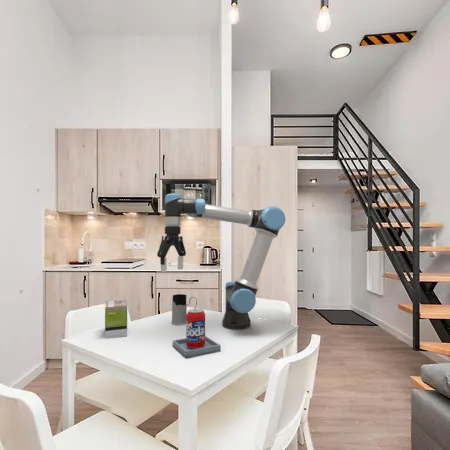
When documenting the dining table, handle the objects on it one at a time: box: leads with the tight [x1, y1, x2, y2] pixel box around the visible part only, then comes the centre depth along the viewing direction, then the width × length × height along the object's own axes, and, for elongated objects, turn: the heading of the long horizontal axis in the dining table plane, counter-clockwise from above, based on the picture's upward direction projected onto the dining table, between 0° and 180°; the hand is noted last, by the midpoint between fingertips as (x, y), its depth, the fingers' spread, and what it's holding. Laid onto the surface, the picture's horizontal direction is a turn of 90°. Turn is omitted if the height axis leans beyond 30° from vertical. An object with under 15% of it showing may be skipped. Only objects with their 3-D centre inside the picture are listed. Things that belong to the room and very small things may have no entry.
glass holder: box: [171, 293, 198, 326], centre depth 164 cm, size 9×14×15 cm, turn 107°
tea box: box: [104, 299, 128, 339], centre depth 145 cm, size 15×10×15 cm, turn 21°
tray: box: [172, 335, 222, 359], centre depth 124 cm, size 15×15×2 cm
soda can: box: [185, 308, 206, 349], centre depth 124 cm, size 8×8×15 cm
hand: (172, 270), depth 142 cm, fingers open, 13 cm apart
